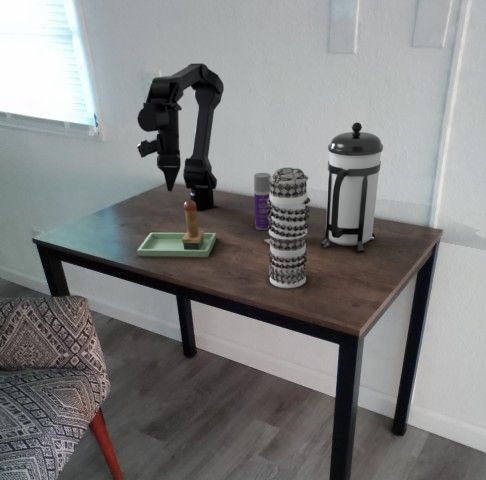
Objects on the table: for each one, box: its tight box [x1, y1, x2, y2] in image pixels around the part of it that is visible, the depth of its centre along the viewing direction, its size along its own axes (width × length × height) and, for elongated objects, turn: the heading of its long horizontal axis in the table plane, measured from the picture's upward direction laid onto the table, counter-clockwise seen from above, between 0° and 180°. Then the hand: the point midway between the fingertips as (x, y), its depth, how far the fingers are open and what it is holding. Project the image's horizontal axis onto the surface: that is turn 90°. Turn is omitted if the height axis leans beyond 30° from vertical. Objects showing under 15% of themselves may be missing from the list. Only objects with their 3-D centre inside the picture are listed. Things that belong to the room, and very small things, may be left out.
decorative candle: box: [266, 167, 311, 289], centre depth 107 cm, size 9×9×25 cm
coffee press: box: [320, 121, 384, 254], centre depth 120 cm, size 17×16×30 cm
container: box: [253, 172, 271, 231], centre depth 138 cm, size 5×5×15 cm
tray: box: [136, 232, 217, 258], centre depth 131 cm, size 19×12×2 cm, turn 82°
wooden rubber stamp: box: [182, 199, 205, 250], centre depth 127 cm, size 4×6×13 cm
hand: (169, 187), depth 140 cm, fingers open, 9 cm apart
